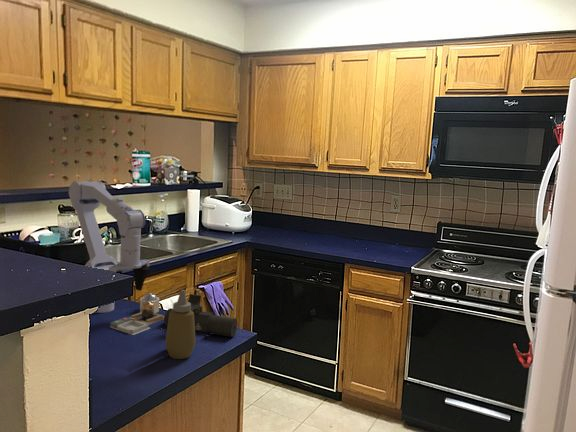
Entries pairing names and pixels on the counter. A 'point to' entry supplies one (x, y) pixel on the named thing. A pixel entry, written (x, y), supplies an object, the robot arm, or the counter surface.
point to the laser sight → (208, 320)
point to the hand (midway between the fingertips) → (129, 292)
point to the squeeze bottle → (180, 329)
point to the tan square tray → (148, 321)
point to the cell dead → (149, 297)
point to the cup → (156, 301)
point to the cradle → (129, 326)
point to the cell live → (147, 310)
